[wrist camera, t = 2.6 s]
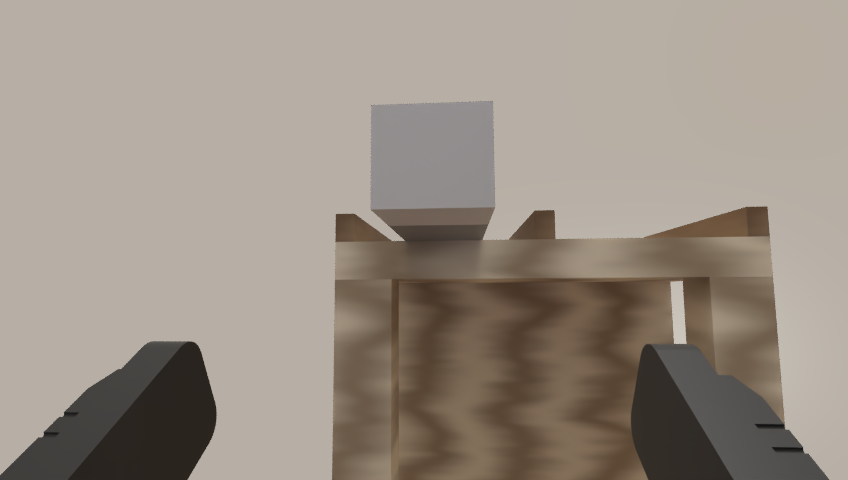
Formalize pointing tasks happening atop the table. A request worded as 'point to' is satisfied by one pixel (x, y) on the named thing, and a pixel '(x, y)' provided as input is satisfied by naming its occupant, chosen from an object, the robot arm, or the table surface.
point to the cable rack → (532, 344)
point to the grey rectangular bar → (433, 169)
